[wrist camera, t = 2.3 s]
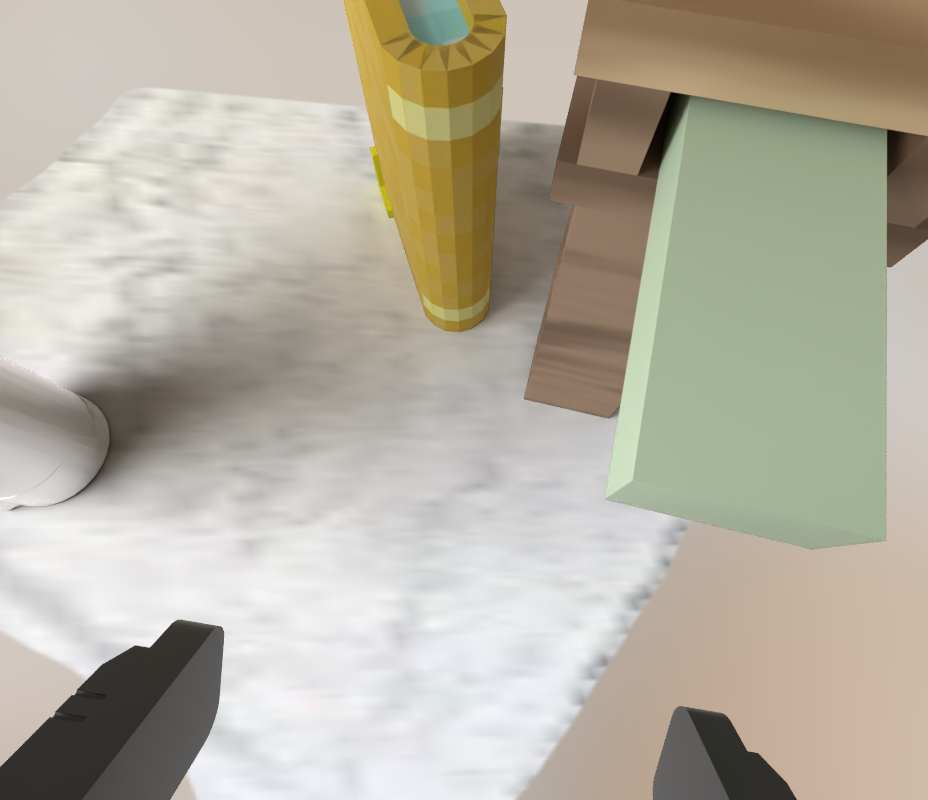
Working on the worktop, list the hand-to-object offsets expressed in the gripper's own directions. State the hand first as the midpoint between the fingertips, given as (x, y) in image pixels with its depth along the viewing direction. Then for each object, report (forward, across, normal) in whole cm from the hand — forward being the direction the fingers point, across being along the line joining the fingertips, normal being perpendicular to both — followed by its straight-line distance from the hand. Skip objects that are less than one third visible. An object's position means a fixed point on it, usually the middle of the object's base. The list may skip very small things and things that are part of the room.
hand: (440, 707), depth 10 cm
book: (+43, +5, -9) cm, 45 cm away
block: (+6, -5, -11) cm, 14 cm away
